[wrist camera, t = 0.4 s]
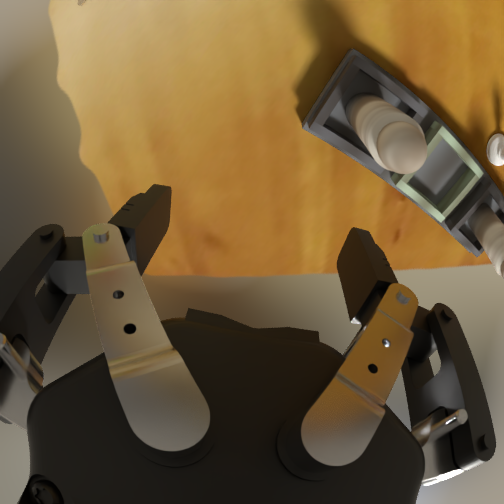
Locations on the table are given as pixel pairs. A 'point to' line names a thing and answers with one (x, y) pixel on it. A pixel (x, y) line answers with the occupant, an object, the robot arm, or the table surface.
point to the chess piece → (496, 149)
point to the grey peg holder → (410, 152)
